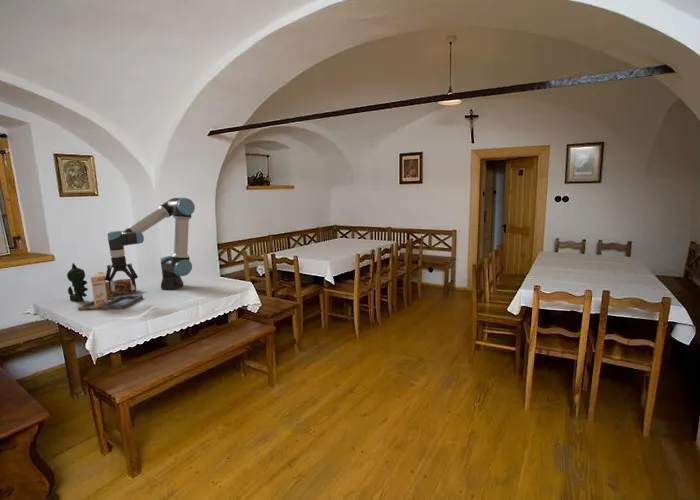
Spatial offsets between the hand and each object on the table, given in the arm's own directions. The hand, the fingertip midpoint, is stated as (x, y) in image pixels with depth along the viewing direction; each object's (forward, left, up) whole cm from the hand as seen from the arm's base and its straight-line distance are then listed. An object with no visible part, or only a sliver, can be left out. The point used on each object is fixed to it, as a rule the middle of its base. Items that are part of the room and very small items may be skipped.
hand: (123, 290), depth 238 cm
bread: (+16, -24, -9) cm, 30 cm away
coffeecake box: (+14, 0, -9) cm, 17 cm away
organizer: (+8, 0, -8) cm, 11 cm away
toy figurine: (+36, -11, -9) cm, 39 cm away
